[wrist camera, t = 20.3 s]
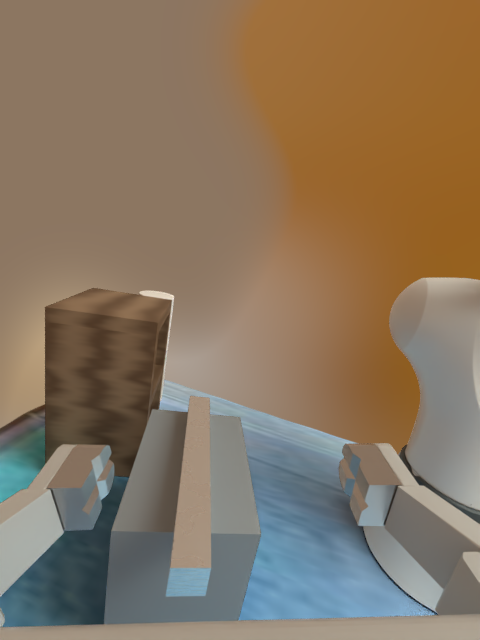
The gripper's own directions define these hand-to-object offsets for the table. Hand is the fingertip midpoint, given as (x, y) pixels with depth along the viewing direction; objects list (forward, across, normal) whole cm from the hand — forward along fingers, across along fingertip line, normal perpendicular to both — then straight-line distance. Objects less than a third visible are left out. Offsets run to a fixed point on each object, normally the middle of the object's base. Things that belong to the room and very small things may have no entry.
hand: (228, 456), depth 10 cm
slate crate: (+14, +6, +32) cm, 35 cm away
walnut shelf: (+32, +21, +31) cm, 49 cm away
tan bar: (+13, +4, +17) cm, 21 cm away
